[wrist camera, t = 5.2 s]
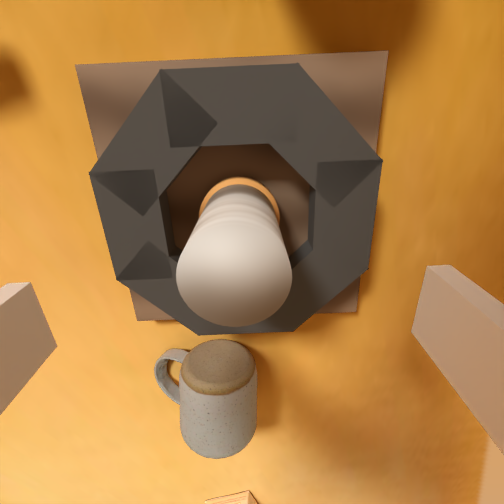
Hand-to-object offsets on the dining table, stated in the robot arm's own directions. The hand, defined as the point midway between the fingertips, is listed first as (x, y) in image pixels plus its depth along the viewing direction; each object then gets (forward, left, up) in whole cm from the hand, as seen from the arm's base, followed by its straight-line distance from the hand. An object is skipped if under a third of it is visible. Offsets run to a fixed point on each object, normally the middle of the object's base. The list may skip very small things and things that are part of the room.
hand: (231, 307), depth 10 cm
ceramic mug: (+18, -4, -16) cm, 25 cm away
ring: (0, 0, -12) cm, 12 cm away
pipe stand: (0, 0, -16) cm, 16 cm away
